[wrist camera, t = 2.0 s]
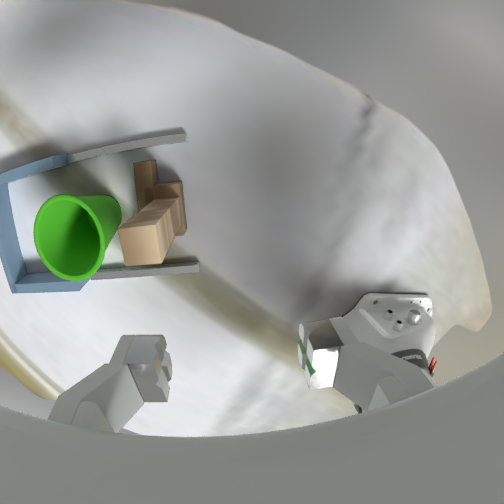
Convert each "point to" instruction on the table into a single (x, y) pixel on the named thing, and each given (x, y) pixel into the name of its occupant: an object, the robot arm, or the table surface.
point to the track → (140, 270)
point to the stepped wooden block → (152, 218)
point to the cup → (75, 233)
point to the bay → (6, 242)
